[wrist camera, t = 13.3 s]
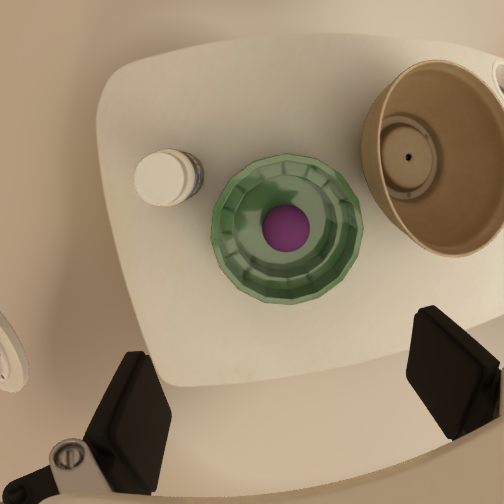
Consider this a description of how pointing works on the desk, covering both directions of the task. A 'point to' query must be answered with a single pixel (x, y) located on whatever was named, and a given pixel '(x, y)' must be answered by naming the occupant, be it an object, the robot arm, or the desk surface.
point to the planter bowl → (438, 157)
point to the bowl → (305, 258)
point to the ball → (286, 228)
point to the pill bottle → (168, 177)
